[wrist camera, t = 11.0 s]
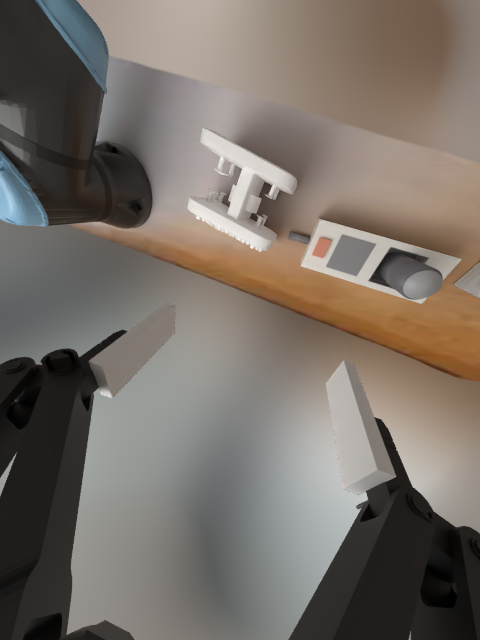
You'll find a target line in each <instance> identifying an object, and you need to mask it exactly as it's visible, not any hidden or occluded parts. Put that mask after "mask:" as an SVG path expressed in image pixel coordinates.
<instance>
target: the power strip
mask: <svg viewBox="0 0 480 640" xmlns="http://www.w3.org/2000/svg"><path fill="white" fill-rule="evenodd" d="M288 239H291V240H294V241H298V242H301V243H304V244H307V246H306V249H305V251H304V254H303V256H302V258H301V266H302V267H305V268H308V269H312V270H315V271H318V272H321V273H324V274H328V275H331V276H334V277H337V278H340V279H344V280H347V281H350V282H353V283H356V284H360V285H363V286H366V287H369V288H372V289H376V290H379V291H382V292H385V293H388V294H392V295H395V296H398V297H401V298H404V299H407V298H405V297H404V296H402V295H401V294H400V293H399V292H398V291H396V290H395V289H394V288H393V287H392V286H390V285H389V284H388V283H387V282H386V281H384V280H383V279H382V278H381V277H380V276H378V275H377V273H376V271H375V270H376V268H377V267H378V265H379V264H380V262H381V261H382V259H383V258H384V256H385V255H386V254H389V253H393V252H397V253H401V254H403V255H405V256H408V257H410V258H412V259H415V260H417V261H419V262H421V263H424V264H426V265H428V266H431V267H433V268H435V269H437V270H439V271H440V272H441V274H442V276H443V280H444V279H445V277H446V276H447V275H448V274H449V273H450V272H451V271H452V270H453V269H454V267H455V266H456V265H457V264H458V263H459V262H460V261H461V260H462V259H459V258H456V257H453V256H449V255H446V254H443V253H439V252H436V251H432V250H429V249H425V248H422V247H418V246H415V245H411V244H408V243H404V242H400V241H397V240H393V239H390V238H386V237H383V236H379V235H376V234H372V233H369V232H365V231H362V230H358V229H355V228H351V227H347V226H344V225H340V224H337V223H333V222H330V221H326V220H323V219H319V218H318V220H317V222H316V225H315V227H314V229H313V232H312V234H311V237H310V238H309V237H305V236H302V235H298V234H295V233H292V232H290V234H289V237H288ZM426 299H427V297H426V298H423V299H418V300H412V299H408V300H411V301H414V302H417V303H420V304H422V303H423V302H424V301H425V300H426Z"/></svg>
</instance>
